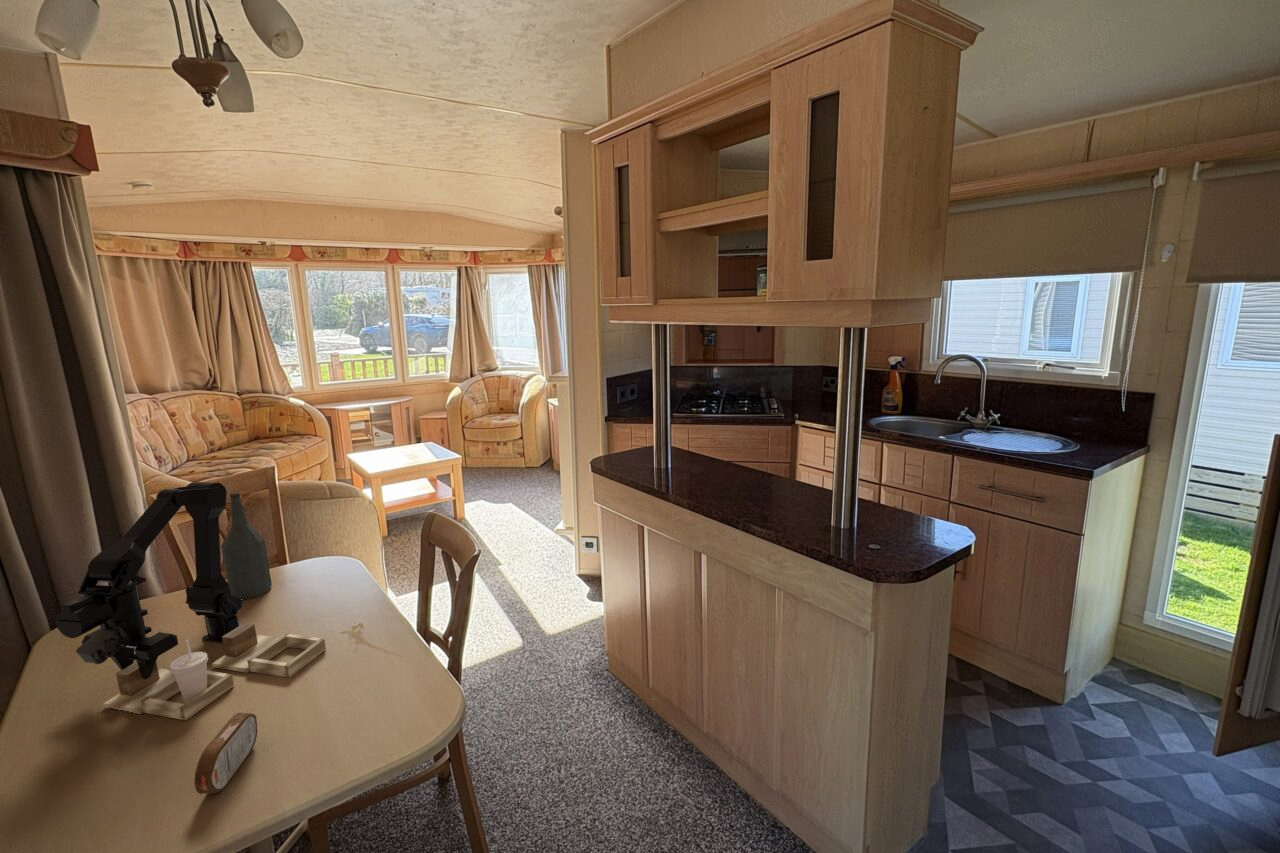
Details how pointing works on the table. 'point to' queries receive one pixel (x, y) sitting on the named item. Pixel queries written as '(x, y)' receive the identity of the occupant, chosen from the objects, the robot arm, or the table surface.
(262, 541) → the bottle
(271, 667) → the hollow rectangular frame
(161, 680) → the cream rimmed tray
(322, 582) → the table surface
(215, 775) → the tin
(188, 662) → the smoothie
